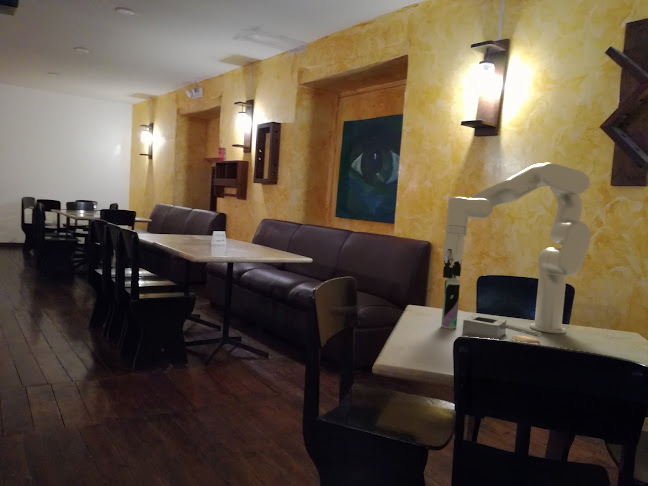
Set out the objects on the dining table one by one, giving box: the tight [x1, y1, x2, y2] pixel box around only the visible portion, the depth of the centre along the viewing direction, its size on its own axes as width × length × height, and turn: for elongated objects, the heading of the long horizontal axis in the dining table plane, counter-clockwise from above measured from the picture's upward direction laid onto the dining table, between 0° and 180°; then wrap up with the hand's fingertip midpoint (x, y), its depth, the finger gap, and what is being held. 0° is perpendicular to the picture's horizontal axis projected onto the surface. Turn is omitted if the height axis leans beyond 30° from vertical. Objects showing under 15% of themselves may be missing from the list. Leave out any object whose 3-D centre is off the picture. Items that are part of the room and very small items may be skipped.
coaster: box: [511, 335, 541, 344], centre depth 173 cm, size 9×9×1 cm
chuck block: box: [462, 314, 508, 340], centre depth 180 cm, size 12×12×5 cm
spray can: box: [440, 274, 461, 330], centre depth 187 cm, size 6×6×20 cm
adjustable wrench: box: [506, 322, 542, 336], centre depth 192 cm, size 25×6×2 cm, turn 30°
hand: (451, 276), depth 186 cm, fingers open, 9 cm apart
